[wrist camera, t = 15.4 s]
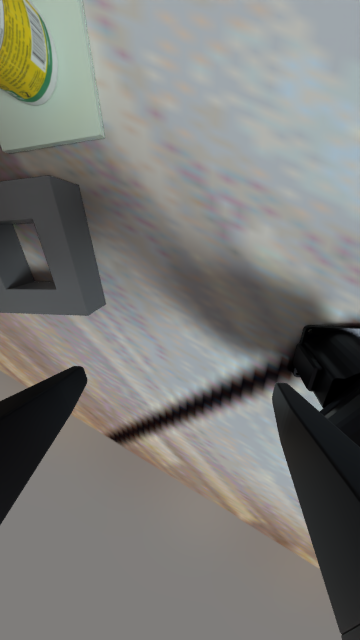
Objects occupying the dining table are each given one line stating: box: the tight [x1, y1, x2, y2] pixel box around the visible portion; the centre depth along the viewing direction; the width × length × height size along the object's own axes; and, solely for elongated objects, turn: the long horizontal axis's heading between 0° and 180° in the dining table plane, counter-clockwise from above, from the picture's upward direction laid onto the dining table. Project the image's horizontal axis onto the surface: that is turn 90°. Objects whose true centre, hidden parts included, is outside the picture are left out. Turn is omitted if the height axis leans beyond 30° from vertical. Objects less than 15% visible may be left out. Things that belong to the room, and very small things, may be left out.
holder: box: [0, 175, 106, 316], centre depth 20 cm, size 12×12×4 cm
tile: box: [0, 0, 105, 154], centre depth 14 cm, size 10×10×1 cm
